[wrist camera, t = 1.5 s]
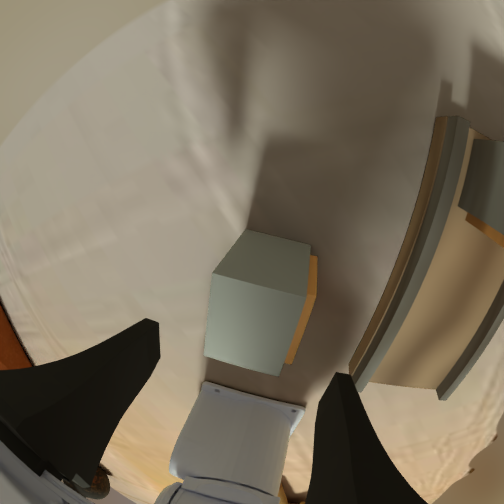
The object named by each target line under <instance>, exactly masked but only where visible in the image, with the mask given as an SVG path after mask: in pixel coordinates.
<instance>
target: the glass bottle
mask: <svg viewBox="0 0 504 504" xmlns="http://www.w3.org/2000/svg"><path fill="white" fill-rule="evenodd" d="M63 482H64V484H65V485H67V486H68V487H69V488H71V489H72V490H74V491H75V492H77V493H78V494H80V495H81V496H83V497H85V498H86V497H88V498H93V499H102V498H105V497H106V496H107V495H108V493H109V491H110V482H109V479H108V476H107V474H106V473H105V472H104V471H103V470H102V469H101V468H100V467H99V466H98V468H97V471H96V473H95V476H94V479H93V482H92V485H91V487H88V488H82V487H81V486H79V485H78V484H76V483H75V482H73V481H71V482H70V483H69V482H67V481H66V480H65V479H63ZM68 504H69V503H68Z"/></svg>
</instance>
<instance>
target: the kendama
mask: <svg viewBox="0 0 504 504" xmlns="http://www.w3.org/2000/svg"><path fill="white" fill-rule="evenodd" d="M278 497H280V502H279V504H297V503H288V502H287V498H286V495H285V493H284V490H283V487H282V483H280V488H279V492H278ZM298 504H305V502H304V501H302V502H300V503H298Z"/></svg>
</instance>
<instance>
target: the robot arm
mask: <svg viewBox="0 0 504 504" xmlns="http://www.w3.org/2000/svg"><path fill="white" fill-rule="evenodd" d="M159 359H160V339H159V323H158V322H155V321H153V320H150V319H147V318H145V319H143V320H142V321H140V322H138V323H136V324H134V325H133V326H131V327H129V328H127V329H126V330H124V331H122V332H120V333H118V334H117V335H115V336H113V337H111V338H109V339H107V340H105V341H104V342H102V343H100V344H98V345H95V346H93V347H91V348H89V349H87V350H85V351H83V352H80V353H78V354H75V355H73V356H70V357H67V358H64V359H61V360H58V361H54V362H51V363H47V364H43V365H39V366H34V367H28V368H21V369H11V370H0V504H68V503H69V504H94V503H93V502H91V501H89V500H88V499H86V498H85V497H83V496H81V495H80V494H78V493H77V492H75V491H74V490H72V489H71V488H69V487H68V486H67V485H65V484H64V483H62V482H61V480H62V479H65V480H66V481H67V482H69V483H70V482H71V481H73V482H75V483H76V484H78V485H79V486H81V487H82V488H88V487H91V485H92V482H93V479H94V476H95V473H96V471H97V468H98V465H99V463H100V461H101V458H102V456H103V454H104V451H105V449H106V447H107V445H108V443H109V441H110V439H111V437H112V435H113V433H114V431H115V429H116V427H117V425H118V423H119V421H120V419H121V418H122V416H123V415H124V413H125V412H126V410H127V409H128V407H129V406H130V405H131V403H132V402H133V400H134V399H135V397H136V396H137V395H138V393H139V392H140V390H141V389H142V388H143V386H144V385H145V383H146V382H147V381H148V379H149V378H150V376H151V374H152V372H153V371H154V369H155V367H156V365H157V363H158V361H159ZM304 413H305V408H304V407H302V406H298V405H293V404H289V403H284V402H280V401H275V400H271V399H267V398H263V397H259V396H255V395H252V394H248V393H244V392H241V391H237V390H234V389H230V388H227V387H224V386H220V385H217V384H214V383H211V382H207V381H205V382H203V384H202V388H201V391H200V393H199V396H198V398H197V400H196V402H195V404H194V406H193V408H192V410H191V412H190V414H189V416H188V418H187V420H186V422H185V425H184V427H183V429H182V431H181V433H180V435H179V437H178V439H177V442H176V444H175V447H174V450H173V452H172V456H171V459H170V464H169V472H170V474H172V475H174V476H176V477H178V478H181V479H183V480H184V481H183V484H182V483H179V482H176V483H173V484H172V485H169V486H167V487H166V488H164V489H163V491H162V492H161V493H160V494H159V496H158V498H157V499H156V501H155V503H154V504H279V502H280V497H278V492H279V488H280V483H281V478H282V473H283V468H284V463H285V458H286V453H287V448H288V442H289V438H290V436H291V434H292V433H293V431H294V430H295V428H296V426H297V425H298V423H299V422H300V420H301V418H302V417H303V415H304ZM305 504H428V503H427V502H426V501H424V500H423V499H422V498H421V497H420V496H419V495H418V494H417V493H416V491H415V490H414V489H413V488H412V487H411V486H410V485H409V484H408V482H407V481H406V480H405V479H404V477H403V476H402V475H401V473H400V472H399V471H398V470H397V468H396V467H395V465H394V464H393V462H392V461H391V459H390V458H389V456H388V454H387V453H386V451H385V449H384V448H383V446H382V444H381V442H380V441H379V439H378V437H377V435H376V433H375V431H374V429H373V427H372V424H371V422H370V420H369V418H368V416H367V413H366V411H365V409H364V406H363V404H362V402H361V399H360V397H359V394H358V392H357V389H356V386H355V384H354V381H353V379H352V376H351V375H349V374H344V373H338V372H336V373H335V375H334V377H333V379H332V380H331V382H330V384H329V386H328V387H327V389H326V391H325V393H324V394H323V396H322V398H321V399H320V401H319V404H318V410H317V416H316V422H315V434H314V450H313V464H312V474H311V480H310V485H309V489H308V494H307V498H306V502H305Z"/></svg>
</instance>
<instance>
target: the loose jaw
mask: <svg viewBox="0 0 504 504" xmlns="http://www.w3.org/2000/svg"><path fill="white" fill-rule="evenodd" d="M310 248H311V245H309V244H305V243H301V242H297V241H293V240H289V239H285V238H281V237H277V236H272V235H268V234H264V233H260V232H256V231H252V230H248V229H245V231H244V232H243V233H242V235H241V236H240V237H239V239H238V240H237V241H236V243H235V244H234V245H233V246H232V248H231V249H230V250H229V252H228V253H227V254H226V256H225V257H224V258H223V260H222V261H221V262H220V264H219V265H218V266H217V267H216V269H215V270H214V271H213V273H212V280H211V289H210V298H209V307H208V316H207V326H206V336H205V346H204V356H207V357H210V358H213V359H216V360H219V361H223V362H226V363H229V364H233V365H236V366H240V367H243V368H247V369H250V370H254V371H258V372H262V373H265V374H269V375H273V376H278V377H279V375H280V372H281V370H282V367H283V364H284V363H287V364H291V365H292V362H293V360H294V357H295V355H296V352H297V349H298V347H299V344H300V341H301V339H302V336H303V333H304V331H305V328H306V325H307V322H308V320H309V317H310V314H311V311H312V308H313V305H314V302H315V299H316V296H317V256H313V255H310Z"/></svg>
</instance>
